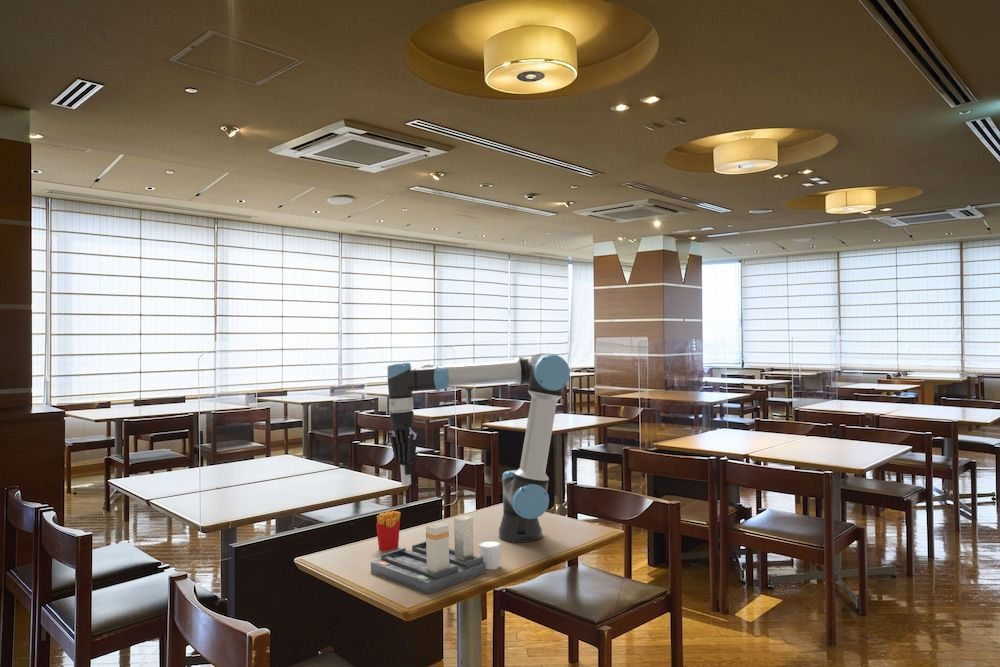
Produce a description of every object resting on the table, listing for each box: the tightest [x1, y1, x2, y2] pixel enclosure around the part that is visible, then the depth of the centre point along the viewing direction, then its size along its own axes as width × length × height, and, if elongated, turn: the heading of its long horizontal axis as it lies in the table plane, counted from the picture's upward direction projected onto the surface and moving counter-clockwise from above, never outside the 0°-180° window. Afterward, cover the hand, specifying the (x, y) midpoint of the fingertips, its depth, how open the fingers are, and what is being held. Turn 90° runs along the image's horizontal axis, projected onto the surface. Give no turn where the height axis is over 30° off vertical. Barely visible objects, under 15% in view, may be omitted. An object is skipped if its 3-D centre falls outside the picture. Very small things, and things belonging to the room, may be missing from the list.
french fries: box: [375, 510, 402, 552], centre depth 222 cm, size 8×4×12 cm, turn 129°
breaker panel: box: [370, 515, 487, 595], centre depth 197 cm, size 22×27×16 cm
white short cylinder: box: [478, 540, 502, 570], centre depth 201 cm, size 7×7×7 cm
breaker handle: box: [425, 522, 450, 573], centre depth 189 cm, size 5×4×13 cm
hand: (406, 484), depth 211 cm, fingers closed
